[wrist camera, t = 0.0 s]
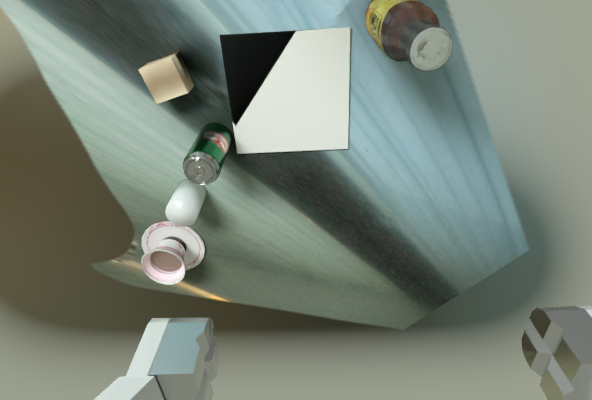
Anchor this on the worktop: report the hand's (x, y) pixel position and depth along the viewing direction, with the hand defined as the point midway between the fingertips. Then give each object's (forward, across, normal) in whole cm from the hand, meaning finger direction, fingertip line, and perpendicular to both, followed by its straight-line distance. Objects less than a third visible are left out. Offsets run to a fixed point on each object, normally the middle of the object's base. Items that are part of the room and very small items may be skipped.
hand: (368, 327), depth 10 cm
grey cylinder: (+51, +22, +25) cm, 61 cm away
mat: (+51, +4, +9) cm, 52 cm away
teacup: (+51, +28, +37) cm, 69 cm away
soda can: (+51, +16, +15) cm, 56 cm away
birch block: (+51, +21, +5) cm, 55 cm away
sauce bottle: (+51, -10, -1) cm, 52 cm away
